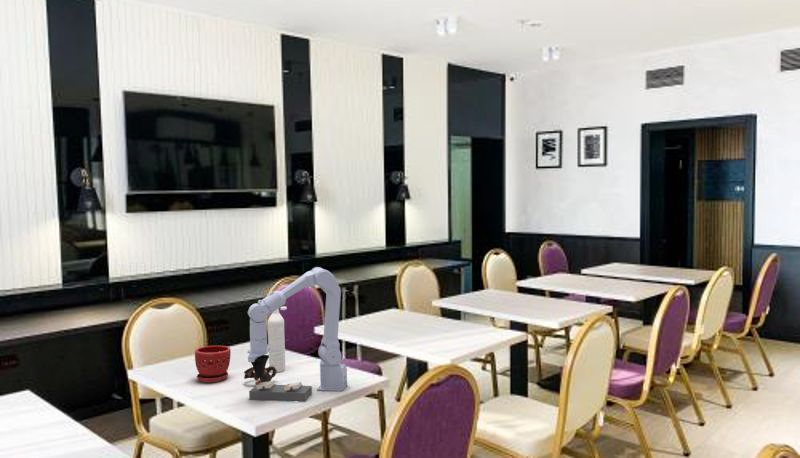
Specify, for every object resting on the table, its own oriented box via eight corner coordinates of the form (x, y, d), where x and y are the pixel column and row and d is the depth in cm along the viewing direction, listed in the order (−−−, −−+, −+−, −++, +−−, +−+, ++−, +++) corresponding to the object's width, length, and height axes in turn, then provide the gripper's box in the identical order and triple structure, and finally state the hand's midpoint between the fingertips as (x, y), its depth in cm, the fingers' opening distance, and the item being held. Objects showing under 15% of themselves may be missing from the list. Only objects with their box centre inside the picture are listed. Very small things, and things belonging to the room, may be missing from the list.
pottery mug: (249, 391, 228) (242, 370, 230) (248, 395, 236) (241, 374, 238) (281, 378, 232) (273, 357, 234) (279, 382, 241) (271, 362, 243)
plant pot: (221, 385, 234) (220, 353, 233) (189, 383, 236) (188, 352, 235) (237, 374, 246) (236, 344, 246) (206, 373, 249) (205, 343, 248)
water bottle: (276, 373, 247) (274, 311, 245) (265, 370, 251) (263, 309, 249) (293, 368, 254) (291, 307, 252) (282, 365, 258) (280, 305, 256)
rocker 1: (274, 385, 219) (273, 380, 219) (270, 388, 216) (269, 384, 216) (261, 386, 220) (260, 382, 220) (257, 389, 217) (256, 385, 217)
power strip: (312, 394, 221) (311, 385, 221) (304, 401, 213) (304, 392, 213) (258, 392, 225) (258, 383, 224) (249, 399, 217) (249, 390, 216)
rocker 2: (301, 385, 218) (300, 381, 218) (298, 388, 214) (297, 384, 214) (288, 387, 219) (287, 383, 219) (284, 391, 215) (283, 387, 215)
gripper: (255, 333, 225) (257, 370, 226) (238, 343, 211) (240, 382, 212) (274, 333, 224) (275, 371, 225) (258, 343, 210) (260, 383, 211)
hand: (259, 376), depth 218 cm, fingers closed
